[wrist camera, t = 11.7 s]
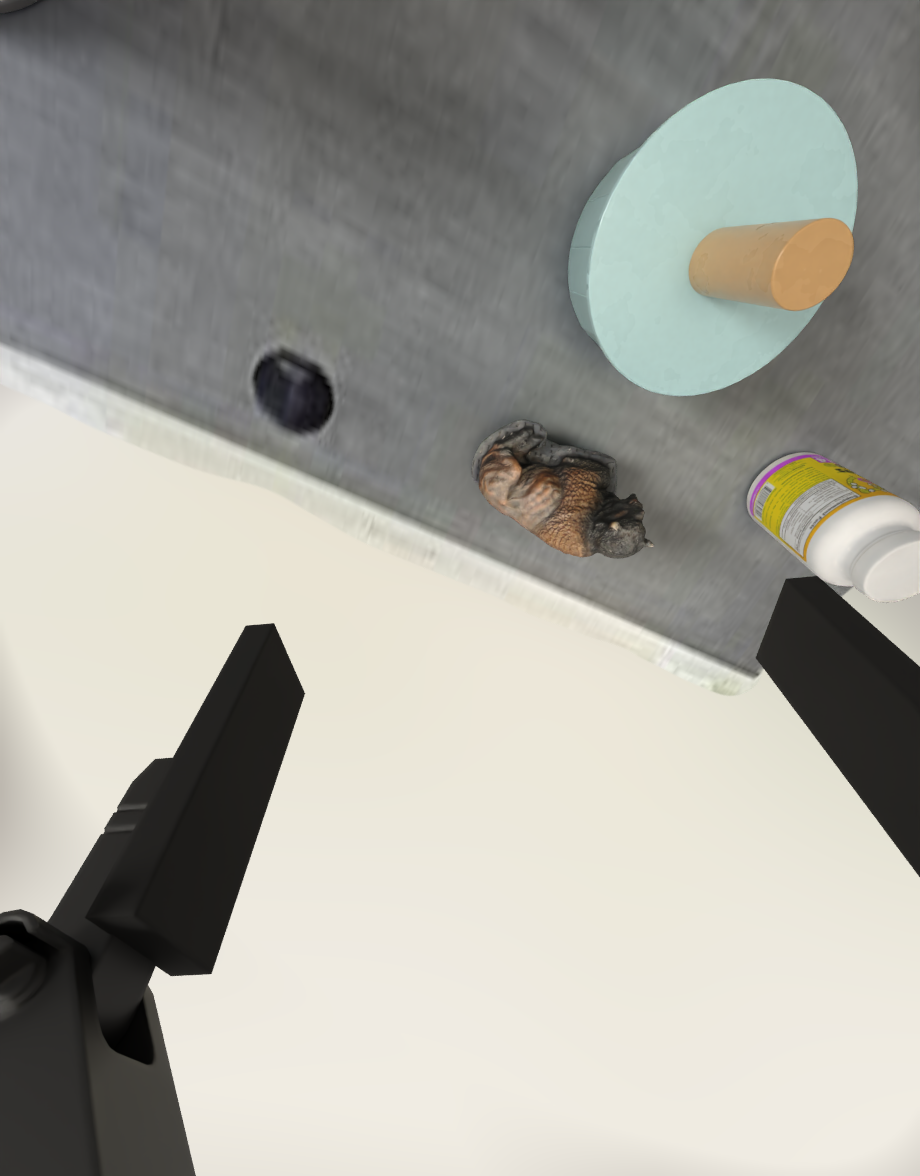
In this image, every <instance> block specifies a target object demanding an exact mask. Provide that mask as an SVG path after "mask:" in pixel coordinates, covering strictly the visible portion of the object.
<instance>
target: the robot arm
mask: <svg viewBox="0 0 920 1176" xmlns="http://www.w3.org/2000/svg"><path fill="white" fill-rule="evenodd" d="M36 1H38V0H0V13H7V12H12V11H16V10H20V9H22V8H24V7H27V6H29V5H31V4H33V3H35V2H36ZM756 659H757V660H758V661H759V663H760V664H761V665H762V667H763V668H764V669H765V671H766V672H767V673H768V675H769V676H770V677H771V679H772V680H773V681H774V683H775V684H776V685H777V687H778V688H779V689H780V691H781V692H782V693H783V695H784V696H785V698H786V699H787V700H788V702H789V703H790V704H791V706H792V707H793V708H794V710H795V711H796V712H797V714H798V715H799V716H800V717H801V719H802V720H803V722H804V723H805V724H806V726H807V727H808V728H809V729H810V731H811V732H812V734H813V735H814V736H815V738H816V739H817V740H818V742H819V743H820V744H821V746H822V747H823V748H824V750H825V751H826V752H827V754H828V755H829V756H830V758H831V759H832V760H833V762H834V763H835V764H836V766H837V767H838V768H839V770H840V771H841V772H842V774H843V775H844V776H845V778H846V779H847V780H848V782H849V783H850V784H851V786H852V787H853V788H854V790H855V791H856V792H857V794H858V795H859V796H860V798H861V799H862V800H863V802H864V803H865V804H866V806H867V807H868V809H869V810H870V811H871V813H872V814H873V815H874V817H875V818H876V819H877V820H878V822H879V823H880V825H881V826H882V827H883V828H884V830H885V831H886V833H887V834H888V835H889V837H890V838H891V839H892V841H893V842H894V843H895V845H896V846H897V847H898V849H899V850H900V851H901V853H902V854H903V855H904V857H905V858H906V859H907V861H908V862H909V863H910V865H911V866H912V867H913V869H914V870H915V871H916V873H917V874H918V875H919V877H920V667H919V666H918V665H917V664H916V663H915V662H914V661H913V660H912V659H910V658H909V657H908V656H907V655H906V654H905V653H904V652H902V651H901V650H900V649H899V648H898V647H897V646H896V645H895V644H894V643H892V642H891V641H890V640H889V639H888V638H887V637H886V636H884V635H883V634H882V633H881V632H880V631H879V630H878V629H877V628H875V627H874V626H873V625H872V624H871V623H870V622H869V621H868V620H866V619H865V618H864V617H863V616H862V615H861V614H860V613H859V612H857V611H856V610H855V609H854V608H853V607H852V606H851V605H850V604H848V603H847V602H846V601H845V600H844V599H843V598H842V597H841V596H839V595H838V594H837V593H836V592H835V591H834V590H833V589H832V588H830V587H829V586H828V585H827V584H826V583H825V582H824V581H823V580H821V579H820V578H819V577H818V576H813V577H802V578H790V579H786V580H785V583H784V585H783V588H782V591H781V593H780V596H779V598H778V601H777V604H776V606H775V609H774V612H773V614H772V617H771V619H770V622H769V625H768V627H767V630H766V632H765V635H764V638H763V640H762V643H761V646H760V648H759V651H758V653H757V656H756ZM304 694H305V693H304V690H303V688H302V686H301V683H300V681H299V679H298V677H297V674H296V672H295V670H294V668H293V665H292V663H291V661H290V659H289V656H288V654H287V652H286V649H285V647H284V645H283V643H282V640H281V638H280V636H279V633H278V631H277V629H276V627H275V624H274V623H272V624H261V625H249V626H245V628H244V630H243V632H242V634H241V635H240V637H239V639H238V641H237V643H236V644H235V646H234V648H233V650H232V652H231V654H230V655H229V657H228V659H227V661H226V663H225V664H224V666H223V668H222V670H221V672H220V673H219V676H218V677H217V679H216V681H215V683H214V684H213V686H212V688H211V690H210V692H209V694H208V695H207V697H206V699H205V701H204V703H203V704H202V706H201V708H200V710H199V711H198V713H197V715H196V717H195V719H194V721H193V722H192V724H191V726H190V728H189V730H188V731H187V733H186V735H185V737H184V739H183V740H182V742H181V744H180V746H179V748H178V749H177V751H176V753H175V755H174V757H173V758H163V759H155V760H154V761H153V762H152V763H151V764H150V765H149V766H148V767H147V768H146V769H145V770H144V771H143V772H142V773H141V774H140V775H139V776H138V777H137V778H136V779H135V780H134V781H133V782H132V784H131V785H130V787H129V789H128V790H127V792H126V794H125V795H124V797H123V799H122V800H121V802H120V804H119V805H118V807H117V808H118V810H117V812H116V813H113V815H112V817H111V818H110V820H109V822H108V824H107V825H106V827H105V828H104V829H105V832H104V834H101V835H100V837H99V838H98V840H97V842H96V843H95V845H94V847H93V848H92V850H91V852H90V853H89V855H88V857H87V858H86V860H85V862H84V863H83V865H82V867H81V868H80V870H79V872H78V873H77V875H76V876H75V878H74V880H73V881H72V883H71V885H70V886H69V888H68V890H67V892H66V893H65V895H64V897H63V898H62V900H61V901H60V903H59V905H58V906H57V908H56V910H55V911H54V913H53V915H52V916H51V918H50V919H49V921H48V922H45V921H44V920H42V919H41V918H39V917H37V916H36V915H34V914H32V913H30V912H27V911H24V910H21V909H19V910H14V911H8V912H3V913H1V914H0V1176H196V1175H195V1171H194V1167H193V1163H192V1158H191V1154H190V1150H189V1145H188V1141H187V1137H186V1132H185V1128H184V1124H183V1120H182V1115H181V1111H180V1107H179V1102H178V1098H177V1094H176V1090H175V1085H174V1081H173V1077H172V1073H171V1069H170V1064H169V1060H168V1056H167V1051H166V1047H165V1043H164V1039H163V1034H162V1030H161V1025H160V1021H159V1017H158V1013H157V1009H156V1004H155V1000H154V996H153V993H152V991H151V990H150V988H149V986H148V983H149V981H150V978H151V976H152V973H153V971H154V968H155V966H157V967H158V968H160V969H161V970H163V971H164V972H166V973H167V974H169V975H170V976H182V975H202V974H212V971H213V968H214V965H215V962H216V959H217V956H218V953H219V950H220V947H221V943H222V941H223V937H224V935H225V932H226V929H227V926H228V923H229V920H230V917H231V914H232V911H233V908H234V904H235V902H236V899H237V896H238V893H239V890H240V887H241V884H242V881H243V878H244V874H245V872H246V869H247V865H248V863H249V860H250V857H251V854H252V851H253V848H254V845H255V842H256V839H257V835H258V833H259V830H260V827H261V824H262V821H263V817H264V815H265V812H266V809H267V806H268V802H269V800H270V797H271V794H272V791H273V788H274V785H275V782H276V779H277V776H278V773H279V770H280V767H281V764H282V761H283V758H284V755H285V751H286V749H287V746H288V743H289V740H290V737H291V734H292V731H293V728H294V725H295V722H296V719H297V715H298V713H299V709H300V707H301V704H302V701H303V698H304Z"/></svg>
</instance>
